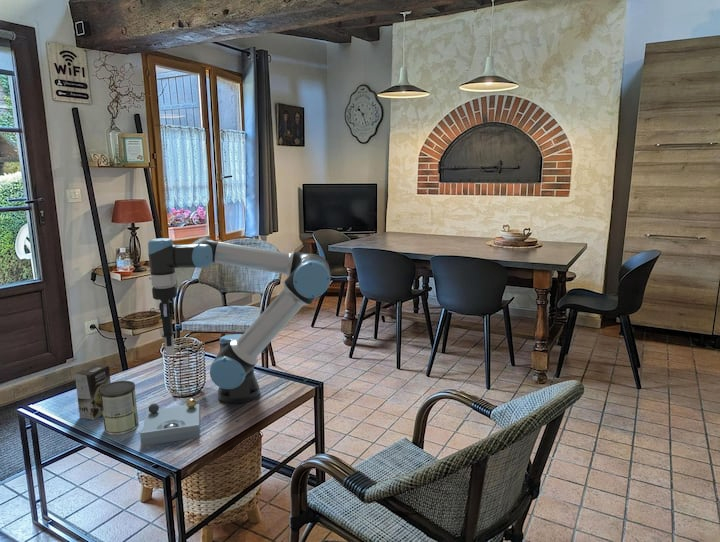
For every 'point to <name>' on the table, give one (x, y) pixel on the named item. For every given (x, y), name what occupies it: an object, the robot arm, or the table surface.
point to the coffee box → (91, 390)
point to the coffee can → (119, 407)
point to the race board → (179, 416)
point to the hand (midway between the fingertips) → (170, 354)
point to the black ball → (153, 408)
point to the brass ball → (191, 403)
